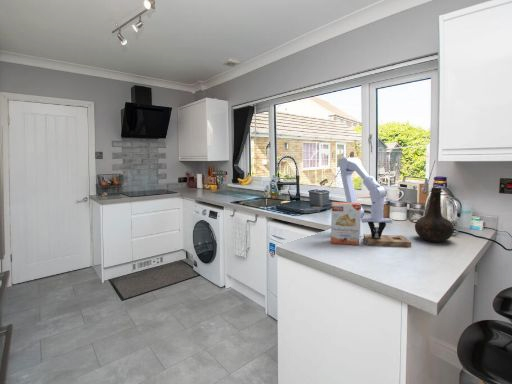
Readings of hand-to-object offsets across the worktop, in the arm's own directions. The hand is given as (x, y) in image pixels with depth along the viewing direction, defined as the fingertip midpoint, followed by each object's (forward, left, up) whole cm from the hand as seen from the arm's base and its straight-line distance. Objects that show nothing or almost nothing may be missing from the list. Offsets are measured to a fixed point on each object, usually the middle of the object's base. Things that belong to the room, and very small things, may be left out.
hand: (376, 236), depth 150 cm
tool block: (+5, 0, -3) cm, 6 cm away
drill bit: (0, 0, -3) cm, 3 cm away
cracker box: (-16, -3, -3) cm, 17 cm away
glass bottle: (+31, +9, -3) cm, 32 cm away
